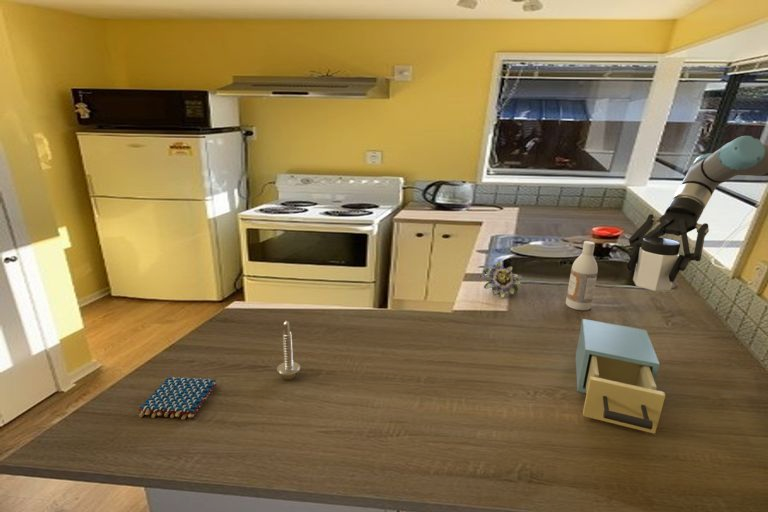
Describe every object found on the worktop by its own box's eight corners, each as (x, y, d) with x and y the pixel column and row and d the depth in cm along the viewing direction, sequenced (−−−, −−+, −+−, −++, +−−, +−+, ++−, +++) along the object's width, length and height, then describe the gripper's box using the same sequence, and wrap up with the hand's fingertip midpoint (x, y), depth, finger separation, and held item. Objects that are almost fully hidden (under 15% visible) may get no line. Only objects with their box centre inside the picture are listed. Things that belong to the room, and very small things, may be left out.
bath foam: (561, 301, 130) (572, 238, 124) (583, 301, 131) (595, 239, 124) (571, 311, 124) (583, 245, 118) (595, 311, 124) (607, 246, 118)
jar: (654, 279, 115) (664, 236, 111) (678, 290, 107) (690, 245, 104) (624, 280, 113) (633, 237, 110) (647, 292, 106) (658, 245, 102)
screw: (296, 367, 93) (304, 379, 89) (274, 374, 90) (281, 386, 86) (293, 313, 88) (302, 323, 85) (270, 318, 86) (278, 328, 82)
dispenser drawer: (661, 456, 69) (673, 416, 67) (584, 436, 73) (592, 397, 71) (642, 390, 86) (651, 356, 84) (580, 376, 90) (586, 344, 88)
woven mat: (167, 383, 86) (166, 374, 85) (218, 386, 86) (217, 377, 85) (136, 417, 76) (134, 408, 76) (194, 421, 76) (192, 411, 75)
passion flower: (499, 313, 134) (485, 288, 127) (485, 293, 143) (471, 270, 137) (530, 294, 133) (518, 268, 126) (513, 276, 142) (501, 251, 136)
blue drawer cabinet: (648, 407, 83) (659, 364, 79) (577, 391, 87) (585, 349, 84) (636, 368, 96) (646, 329, 93) (575, 356, 100) (582, 318, 97)
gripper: (738, 221, 106) (700, 294, 101) (645, 207, 122) (608, 269, 118) (738, 202, 101) (698, 278, 97) (641, 190, 117) (603, 254, 113)
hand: (649, 273), depth 107 cm, fingers closed on jar, 9 cm apart
